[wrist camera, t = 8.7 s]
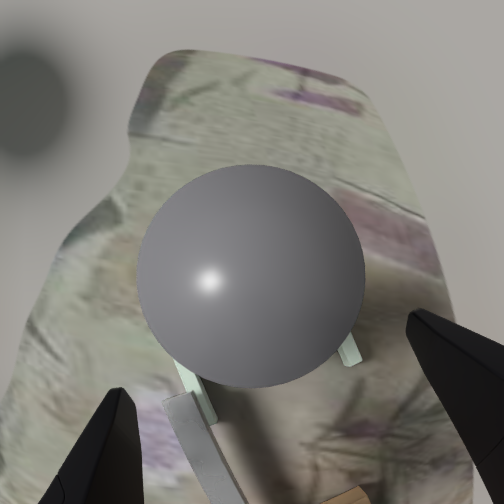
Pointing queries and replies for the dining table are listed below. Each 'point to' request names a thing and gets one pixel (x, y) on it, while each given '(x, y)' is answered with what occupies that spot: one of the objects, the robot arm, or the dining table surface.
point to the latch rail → (350, 497)
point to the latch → (202, 449)
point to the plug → (250, 276)
